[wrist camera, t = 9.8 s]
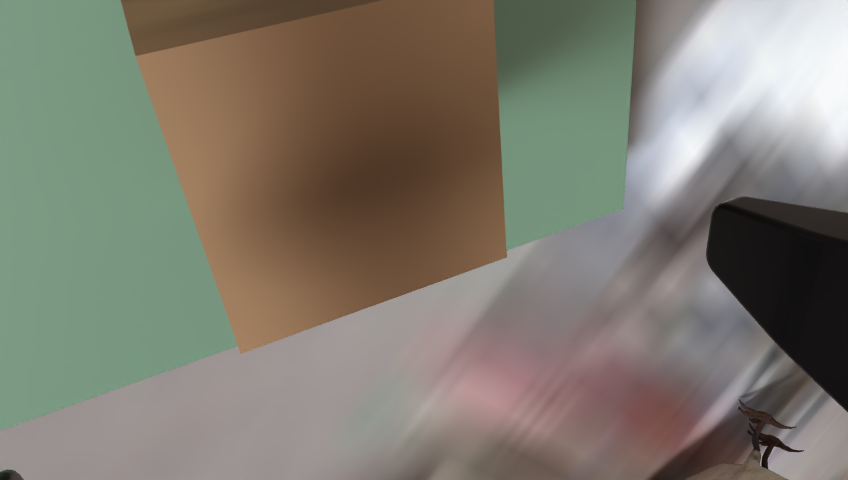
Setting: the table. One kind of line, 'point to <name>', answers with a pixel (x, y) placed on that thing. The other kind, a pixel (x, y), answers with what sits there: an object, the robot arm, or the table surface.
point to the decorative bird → (750, 474)
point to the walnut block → (328, 147)
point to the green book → (167, 206)
